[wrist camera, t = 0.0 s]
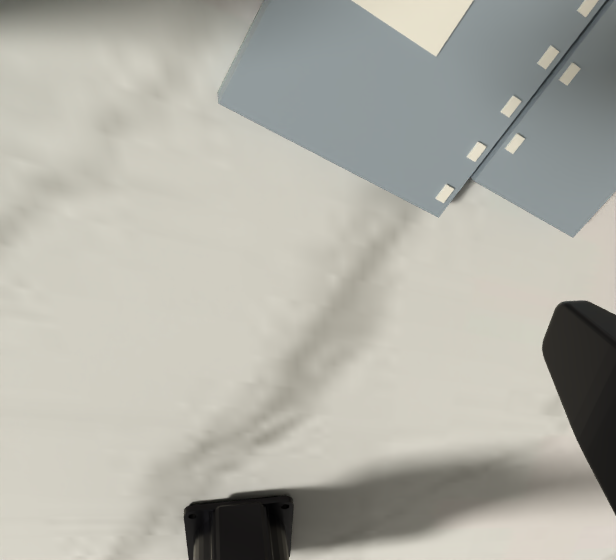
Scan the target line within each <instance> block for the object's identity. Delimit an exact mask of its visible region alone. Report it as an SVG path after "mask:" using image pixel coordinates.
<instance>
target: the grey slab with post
mask: <svg viewBox="0 0 616 560" xmlns="http://www.w3.org/2000/svg"><path fill="white" fill-rule="evenodd" d="M470 177H471V178H472V179H473V181H475V182H476V183H478V184H480V185H482V186H483V187H485V188H487V189H489V190H490V191H492V192H494V193H496V194H497V195H499V196H501V197H503V198H504V199H506V200H508V201H510V202H511V203H513V204H515V205H517V206H518V207H520V208H522V209H524V210H525V211H527V212H529V213H531V214H532V215H534V216H536V217H538V218H539V219H541V220H543V221H545V222H546V223H548V224H550V225H552V226H553V227H555V228H557V229H559V230H560V231H562V232H564V233H566V234H567V235H569V236H571V237H574V236H575V235H576V234H577V233H578V232H579V231H580V230H581V228H582V227H583V226H584V225H585V224H586V223H587V222H588V221H589V220H590V219H591V217H592V216H593V215H594V214H595V213H596V212H597V211H598V210H599V209H600V208H601V207H602V205H603V204H604V203H605V202H606V201H607V200H608V199H609V198H610V197H611V196H612V195H613V193H614V192H615V191H616V0H606V1H605V2H604V4H603V5H602V6H601V8H600V9H599V10H598V11H597V13H596V14H595V15H594V17H593V18H592V19H591V20H590V22H589V23H588V24H587V26H586V27H585V28H584V30H583V31H582V32H581V33H580V35H579V36H578V37H577V39H576V40H575V41H574V43H573V44H572V45H571V46H570V48H569V49H568V50H567V52H566V53H565V54H564V56H563V57H562V58H561V59H560V61H559V62H558V63H557V65H556V66H555V67H554V69H553V70H552V71H551V72H550V74H549V75H548V76H547V78H546V79H545V80H544V81H543V83H542V84H541V85H540V87H539V88H538V89H537V91H536V92H535V93H534V94H533V96H532V97H531V98H530V100H529V101H528V102H527V104H526V105H525V106H524V107H523V109H522V110H521V111H520V113H519V114H518V115H517V117H516V118H515V119H514V120H513V122H512V123H511V124H510V126H509V127H508V128H507V130H506V131H505V132H504V133H503V135H502V136H501V137H500V139H499V140H498V141H497V142H496V144H495V145H494V146H493V148H492V149H491V150H490V152H489V153H488V154H487V155H486V157H485V158H484V159H483V161H482V162H481V163H480V165H479V166H478V167H477V168H476V170H475V171H474V172H473V174H472V175H471V176H470Z"/></svg>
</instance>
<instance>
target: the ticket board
mask: <svg viewBox="0 0 616 560" xmlns="http://www.w3.org/2000/svg"><path fill="white" fill-rule="evenodd" d="M605 1H606V0H264V1H263V3H262V5H261V7H260V9H259V11H258V13H257V15H256V17H255V19H254V21H253V23H252V25H251V27H250V29H249V31H248V33H247V35H246V37H245V39H244V41H243V43H242V45H241V47H240V49H239V51H238V53H237V55H236V57H235V59H234V61H233V63H232V65H231V67H230V69H229V71H228V73H227V75H226V77H225V79H224V81H223V83H222V85H221V87H220V89H219V91H218V104H220V105H222V106H224V107H226V108H228V109H230V110H232V111H234V112H236V113H238V114H240V115H242V116H244V117H245V118H247V119H249V120H251V121H253V122H255V123H257V124H259V125H261V126H263V127H265V128H267V129H269V130H271V131H272V132H274V133H276V134H278V135H280V136H282V137H284V138H286V139H288V140H290V141H292V142H294V143H296V144H298V145H299V146H301V147H303V148H305V149H307V150H309V151H311V152H313V153H315V154H317V155H319V156H321V157H323V158H325V159H326V160H328V161H330V162H332V163H334V164H336V165H338V166H340V167H342V168H344V169H346V170H348V171H350V172H352V173H353V174H355V175H357V176H359V177H361V178H363V179H365V180H367V181H369V182H371V183H373V184H375V185H377V186H379V187H380V188H382V189H384V190H386V191H388V192H390V193H392V194H394V195H396V196H398V197H400V198H402V199H404V200H406V201H407V202H409V203H411V204H413V205H415V206H417V207H419V208H421V209H423V210H425V211H427V212H429V213H431V214H433V215H434V216H436V217H438V218H439V216H440V215H441V214H442V213H443V211H444V210H445V209H446V207H447V206H448V205H449V203H450V202H451V201H452V200H453V198H454V197H455V196H456V194H457V193H458V192H459V191H460V189H461V188H462V187H463V185H464V184H465V183H466V181H467V180H468V179H469V178H470V176H471V175H472V174H473V172H474V171H475V170H476V168H477V167H478V166H479V165H480V163H481V162H482V161H483V159H484V158H485V157H486V155H487V154H488V153H489V152H490V150H491V149H492V148H493V146H494V145H495V144H496V142H497V141H498V140H499V139H500V137H501V136H502V135H503V133H504V132H505V131H506V130H507V128H508V127H509V126H510V124H511V123H512V122H513V120H514V119H515V118H516V117H517V115H518V114H519V113H520V111H521V110H522V109H523V107H524V106H525V105H526V104H527V102H528V101H529V100H530V98H531V97H532V96H533V94H534V93H535V92H536V91H537V89H538V88H539V87H540V85H541V84H542V83H543V81H544V80H545V79H546V78H547V76H548V75H549V74H550V72H551V71H552V70H553V69H554V67H555V66H556V65H557V63H558V62H559V61H560V59H561V58H562V57H563V56H564V54H565V53H566V52H567V50H568V49H569V48H570V46H571V45H572V44H573V43H574V41H575V40H576V39H577V37H578V36H579V35H580V33H581V32H582V31H583V30H584V28H585V27H586V26H587V24H588V23H589V22H590V20H591V19H592V18H593V17H594V15H595V14H596V13H597V11H598V10H599V9H600V8H601V6H602V5H603V4H604V2H605Z"/></svg>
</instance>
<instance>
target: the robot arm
mask: <svg viewBox="0 0 616 560" xmlns="http://www.w3.org/2000/svg"><path fill="white" fill-rule="evenodd" d="M542 351H543V356H544V359H545V362H546V364H547V367H548V369H549V372H550V374H551V377H552V379H553V382H554V385H555V387H556V390H557V392H558V395H559V397H560V400H561V402H562V405H563V407H564V410H565V412H566V415H567V417H568V420H569V422H570V425H571V427H572V430H573V432H574V434H575V437H576V439H577V441H578V443H579V445H580V447H581V449H582V451H583V454H584V456H585V457H586V459H587V461H588V463H589V465H590V467H591V469H592V471H593V473H594V475H595V477H596V479H597V480H598V482H599V484H600V486H601V488H602V490H603V492H604V494H605V496H606V498H607V500H608V502H609V503H610V505H611V507H612V509H613V511H614V513H615V515H616V315H615V314H613V313H611V312H609V311H607V310H605V309H603V308H601V307H599V306H597V305H595V304H593V303H591V302H588V301H564V302H562V303H560V304H559V305H558V306H557V307H556V308H555V311H554V313H553V316H552V318H551V321H550V324H549V326H548V329H547V332H546V334H545V337H544V340H543V345H542ZM292 520H293V500H292V498H291V497H290V496H279V497H269V498H259V499H249V500H239V501H229V502H219V503H210V504H200V505H191V506H188V507H186V508H185V509H184V523H185V531H186V540H187V548H188V557H189V560H289V557H290V550H291V535H292Z"/></svg>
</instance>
